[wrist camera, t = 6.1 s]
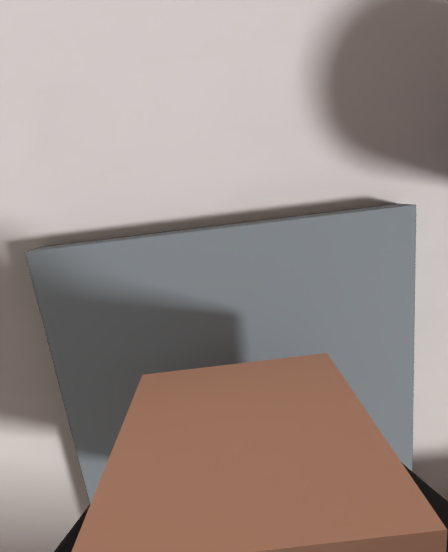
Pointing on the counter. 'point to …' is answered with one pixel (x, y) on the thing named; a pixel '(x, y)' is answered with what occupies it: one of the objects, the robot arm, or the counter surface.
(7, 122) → the counter surface
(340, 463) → the terracotta block
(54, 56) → the counter surface
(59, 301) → the mat
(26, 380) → the counter surface
